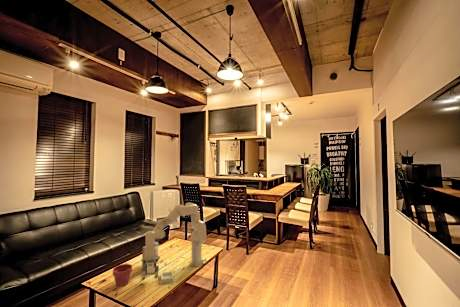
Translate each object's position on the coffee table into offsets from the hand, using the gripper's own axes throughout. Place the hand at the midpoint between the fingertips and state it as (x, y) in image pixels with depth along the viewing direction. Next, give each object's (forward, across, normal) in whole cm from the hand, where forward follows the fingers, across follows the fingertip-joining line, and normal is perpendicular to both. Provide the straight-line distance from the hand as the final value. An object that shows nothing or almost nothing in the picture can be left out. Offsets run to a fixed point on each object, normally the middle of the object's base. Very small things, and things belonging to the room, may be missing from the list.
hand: (151, 267), depth 184 cm
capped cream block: (+3, 0, 0) cm, 3 cm away
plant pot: (+10, +22, +1) cm, 24 cm away
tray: (+10, -13, +2) cm, 17 cm away
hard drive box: (+11, +4, -25) cm, 27 cm away
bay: (+10, +1, -8) cm, 13 cm away
